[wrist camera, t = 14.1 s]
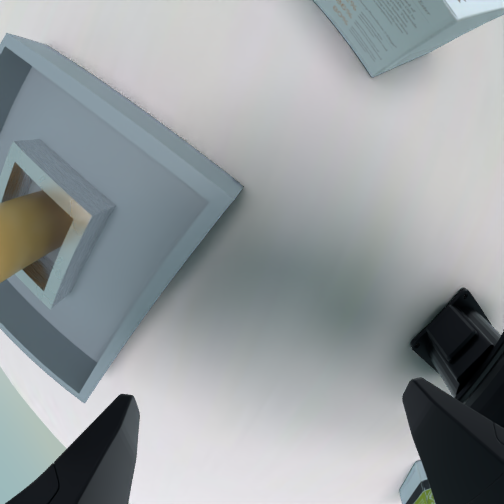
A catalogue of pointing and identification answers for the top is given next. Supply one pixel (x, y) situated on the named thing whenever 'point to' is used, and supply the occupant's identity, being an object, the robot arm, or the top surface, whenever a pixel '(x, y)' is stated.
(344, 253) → the top surface
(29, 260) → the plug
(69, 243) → the socket
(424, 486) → the tea box
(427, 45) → the small box
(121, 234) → the bin
